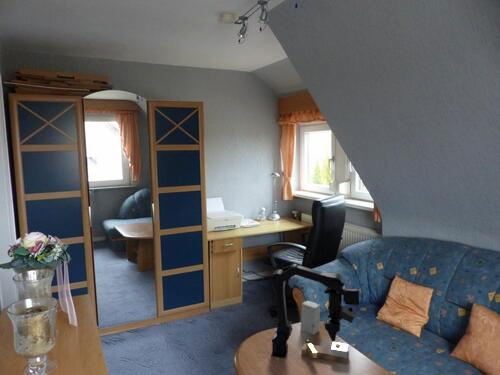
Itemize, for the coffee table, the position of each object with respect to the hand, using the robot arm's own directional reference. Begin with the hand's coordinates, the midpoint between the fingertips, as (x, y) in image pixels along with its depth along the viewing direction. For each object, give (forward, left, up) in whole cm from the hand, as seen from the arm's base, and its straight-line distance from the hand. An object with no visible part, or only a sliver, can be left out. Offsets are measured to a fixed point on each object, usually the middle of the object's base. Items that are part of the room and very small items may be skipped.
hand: (334, 336), depth 165 cm
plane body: (-4, +3, -12) cm, 13 cm away
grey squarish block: (+2, +3, -9) cm, 10 cm away
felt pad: (-4, +11, -12) cm, 17 cm away
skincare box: (-15, +25, -12) cm, 31 cm away
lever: (-10, 0, -9) cm, 14 cm away
